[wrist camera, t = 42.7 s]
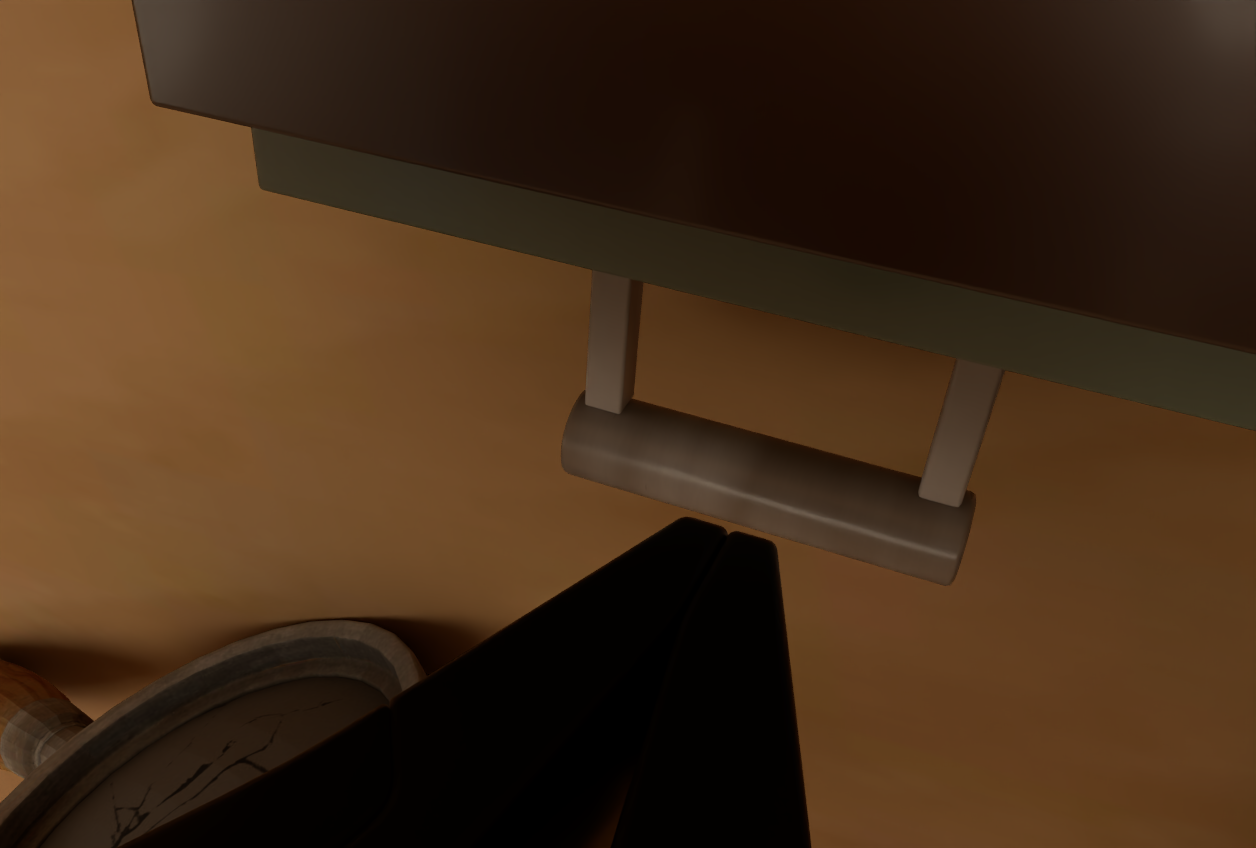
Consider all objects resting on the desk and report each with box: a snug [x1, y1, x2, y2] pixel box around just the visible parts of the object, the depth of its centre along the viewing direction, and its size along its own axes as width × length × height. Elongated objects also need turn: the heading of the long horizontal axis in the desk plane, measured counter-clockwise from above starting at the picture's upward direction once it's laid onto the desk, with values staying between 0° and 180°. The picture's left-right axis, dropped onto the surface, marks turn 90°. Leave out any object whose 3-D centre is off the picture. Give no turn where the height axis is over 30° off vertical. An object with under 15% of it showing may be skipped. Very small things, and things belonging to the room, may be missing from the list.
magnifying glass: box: [0, 620, 427, 848], centre depth 30 cm, size 13×3×25 cm
